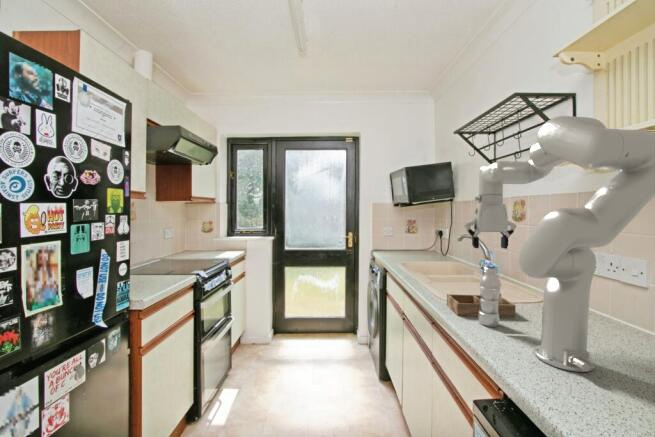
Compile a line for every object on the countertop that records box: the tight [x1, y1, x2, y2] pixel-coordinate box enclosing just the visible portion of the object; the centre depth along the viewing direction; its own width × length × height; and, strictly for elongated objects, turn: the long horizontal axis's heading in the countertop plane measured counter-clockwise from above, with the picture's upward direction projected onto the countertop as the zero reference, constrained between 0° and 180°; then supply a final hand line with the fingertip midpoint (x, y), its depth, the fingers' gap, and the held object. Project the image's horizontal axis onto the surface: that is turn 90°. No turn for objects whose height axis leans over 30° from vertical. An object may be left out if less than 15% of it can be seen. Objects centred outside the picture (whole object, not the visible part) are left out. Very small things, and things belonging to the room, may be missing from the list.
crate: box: [446, 293, 516, 318], centre depth 115 cm, size 12×20×5 cm, turn 87°
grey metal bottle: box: [477, 265, 502, 328], centre depth 102 cm, size 6×7×20 cm
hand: (489, 248), depth 108 cm, fingers open, 9 cm apart
